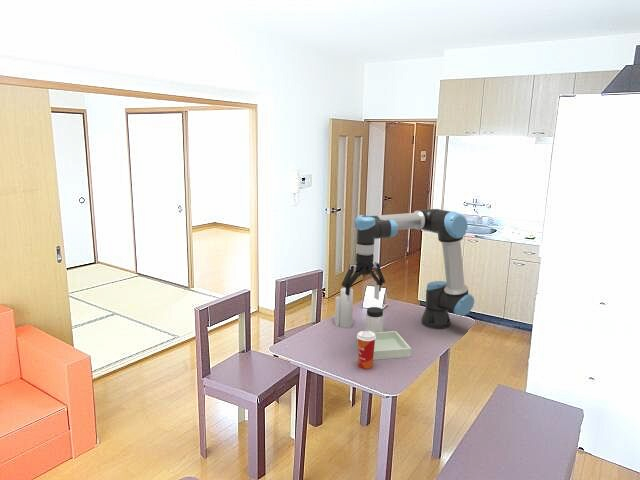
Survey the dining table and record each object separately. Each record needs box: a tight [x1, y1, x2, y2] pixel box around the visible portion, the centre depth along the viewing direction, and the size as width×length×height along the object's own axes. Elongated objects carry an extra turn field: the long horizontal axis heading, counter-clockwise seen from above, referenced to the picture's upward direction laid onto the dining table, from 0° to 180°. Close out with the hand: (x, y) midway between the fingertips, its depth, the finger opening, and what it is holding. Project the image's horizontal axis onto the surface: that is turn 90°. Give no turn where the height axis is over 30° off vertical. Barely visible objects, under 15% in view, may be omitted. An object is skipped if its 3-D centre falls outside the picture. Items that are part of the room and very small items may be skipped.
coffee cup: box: [356, 330, 376, 370], centre depth 205 cm, size 8×8×15 cm
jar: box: [365, 306, 385, 333], centre depth 241 cm, size 9×8×12 cm
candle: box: [334, 287, 354, 329], centre depth 249 cm, size 11×7×20 cm, turn 48°
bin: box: [356, 330, 412, 361], centre depth 223 cm, size 20×20×4 cm
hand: (362, 300), depth 207 cm, fingers open, 13 cm apart
